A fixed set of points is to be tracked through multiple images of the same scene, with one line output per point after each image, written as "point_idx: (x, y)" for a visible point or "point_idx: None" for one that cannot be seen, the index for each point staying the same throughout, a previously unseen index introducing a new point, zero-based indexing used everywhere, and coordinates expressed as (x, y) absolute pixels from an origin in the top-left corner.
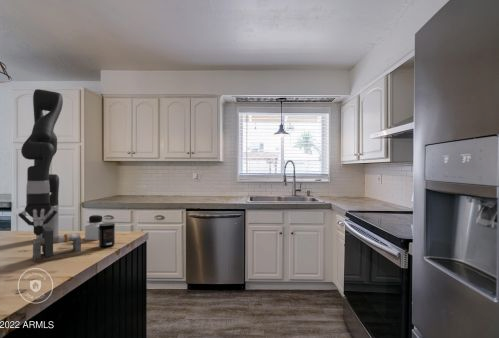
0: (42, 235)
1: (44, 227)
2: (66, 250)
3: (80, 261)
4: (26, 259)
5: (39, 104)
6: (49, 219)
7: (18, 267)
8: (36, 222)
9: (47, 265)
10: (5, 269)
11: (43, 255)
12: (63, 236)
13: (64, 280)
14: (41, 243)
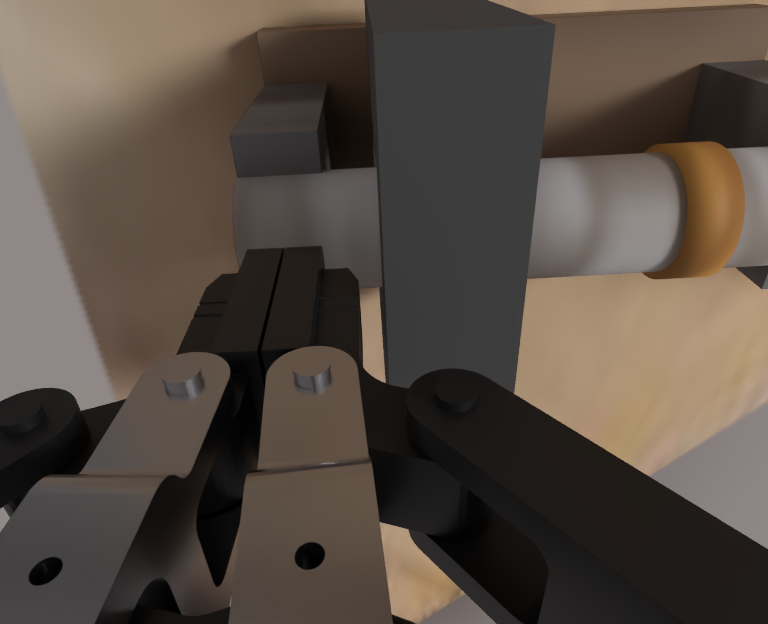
0: (371, 63)
1: (422, 120)
2: (627, 66)
3: (595, 403)
4: (203, 45)
5: None
6: (533, 582)
7: (176, 296)
8: (218, 556)
9: (381, 367)
10: (84, 291)
11: (369, 141)
12: (648, 265)
13: (424, 611)
14: None
